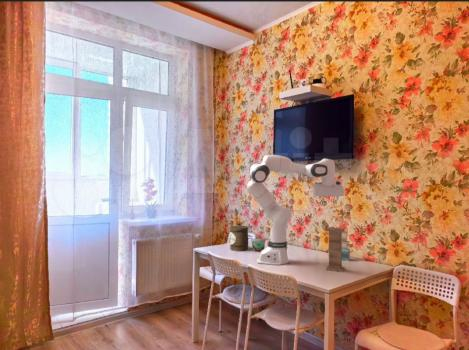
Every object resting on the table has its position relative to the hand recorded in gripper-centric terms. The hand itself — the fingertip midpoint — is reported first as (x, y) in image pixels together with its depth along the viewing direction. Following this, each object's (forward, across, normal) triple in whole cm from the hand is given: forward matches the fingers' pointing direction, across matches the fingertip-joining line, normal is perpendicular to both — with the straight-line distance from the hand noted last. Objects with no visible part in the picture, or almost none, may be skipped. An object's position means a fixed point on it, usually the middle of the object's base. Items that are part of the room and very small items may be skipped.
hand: (328, 202), depth 224 cm
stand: (+41, +2, -15) cm, 44 cm away
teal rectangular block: (+31, +13, +16) cm, 37 cm away
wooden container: (+41, -66, +36) cm, 86 cm away
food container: (+41, -49, +30) cm, 71 cm away
